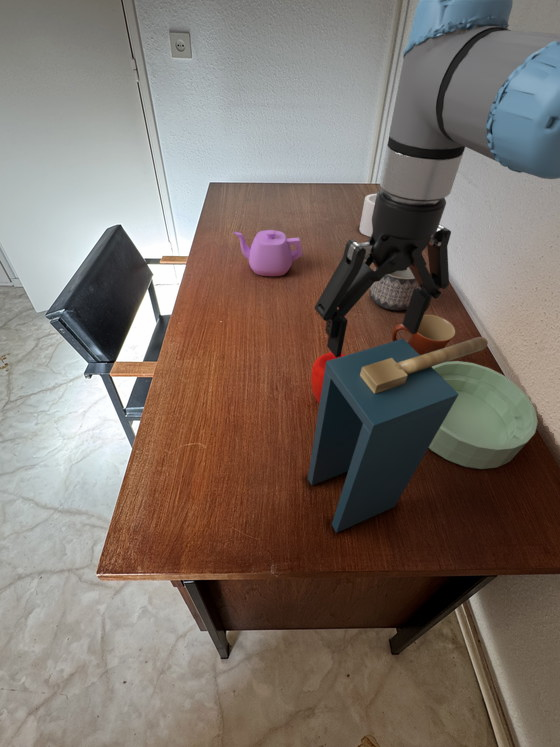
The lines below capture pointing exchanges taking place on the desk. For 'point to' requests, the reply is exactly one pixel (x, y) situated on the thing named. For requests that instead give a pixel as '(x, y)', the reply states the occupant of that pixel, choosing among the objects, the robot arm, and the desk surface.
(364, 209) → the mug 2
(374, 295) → the planter
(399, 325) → the mug
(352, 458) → the teal arch block
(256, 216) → the desk surface
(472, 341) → the wooden mallet
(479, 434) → the bowl
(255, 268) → the teapot
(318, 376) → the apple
